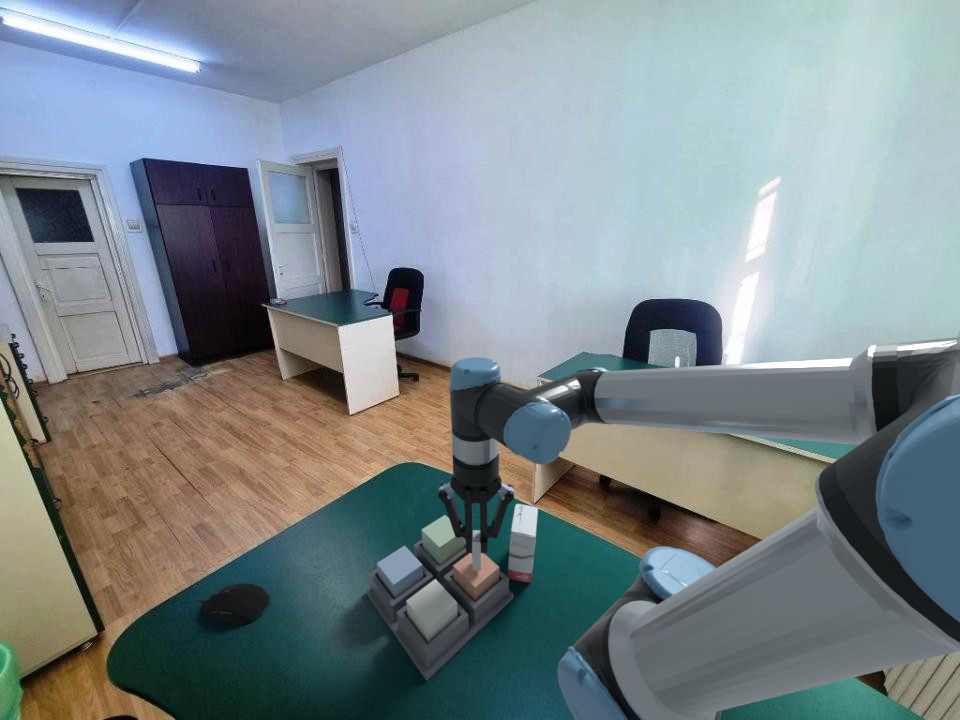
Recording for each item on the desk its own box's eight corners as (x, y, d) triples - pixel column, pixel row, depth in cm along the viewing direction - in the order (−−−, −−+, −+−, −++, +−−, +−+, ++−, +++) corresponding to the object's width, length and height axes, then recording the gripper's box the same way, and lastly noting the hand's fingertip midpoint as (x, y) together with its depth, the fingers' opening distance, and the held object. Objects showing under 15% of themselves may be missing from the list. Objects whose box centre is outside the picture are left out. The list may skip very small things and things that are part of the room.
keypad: (513, 598, 70) (514, 578, 69) (426, 681, 58) (425, 659, 56) (447, 537, 84) (447, 519, 83) (365, 593, 71) (363, 573, 70)
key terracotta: (498, 587, 70) (499, 566, 68) (475, 608, 66) (475, 587, 64) (477, 566, 74) (477, 547, 72) (453, 585, 70) (453, 565, 68)
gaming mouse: (209, 585, 73) (204, 570, 72) (277, 596, 71) (273, 581, 70) (180, 616, 68) (174, 600, 66) (254, 629, 65) (249, 613, 64)
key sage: (463, 549, 76) (463, 530, 74) (440, 567, 72) (439, 547, 71) (445, 533, 80) (445, 514, 79) (422, 548, 76) (421, 529, 75)
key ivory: (457, 623, 63) (457, 602, 62) (428, 649, 59) (427, 627, 58) (436, 599, 67) (435, 578, 66) (408, 621, 63) (406, 600, 62)
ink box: (532, 584, 73) (535, 537, 69) (507, 579, 74) (508, 532, 70) (535, 549, 81) (538, 505, 77) (512, 545, 82) (514, 501, 78)
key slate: (423, 584, 70) (422, 564, 68) (395, 605, 66) (393, 584, 65) (406, 564, 74) (404, 545, 73) (379, 583, 70) (376, 563, 69)
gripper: (515, 440, 63) (511, 548, 71) (438, 439, 64) (443, 546, 71) (517, 467, 56) (513, 583, 64) (431, 465, 57) (438, 581, 64)
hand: (476, 564), depth 68 cm, fingers closed
